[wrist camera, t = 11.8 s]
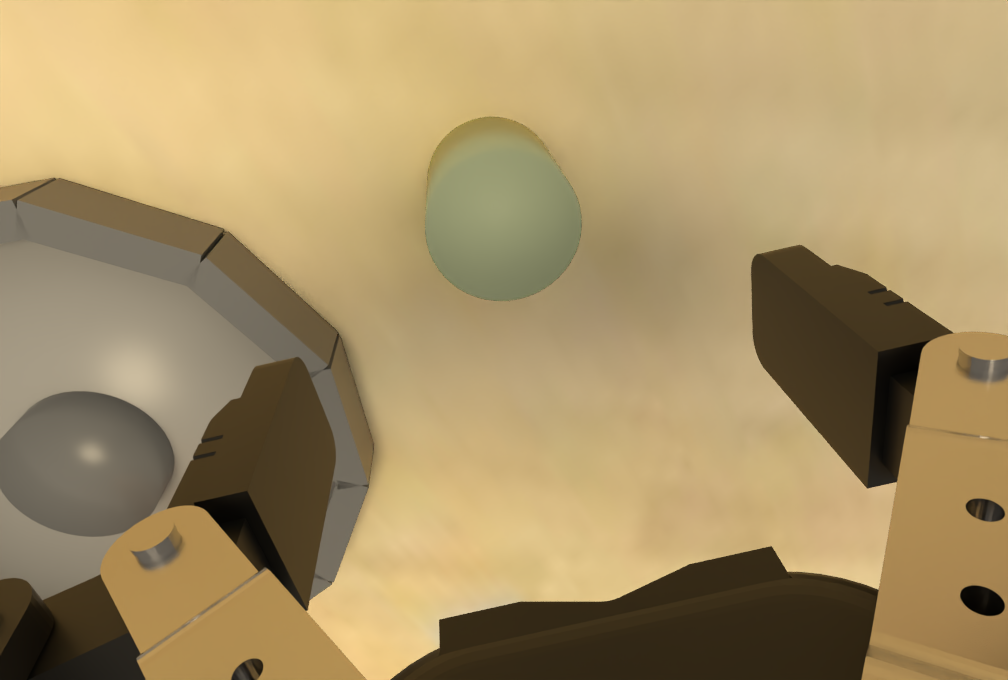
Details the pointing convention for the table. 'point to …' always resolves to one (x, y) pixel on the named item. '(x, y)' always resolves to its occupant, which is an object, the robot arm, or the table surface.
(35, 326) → the ring tray
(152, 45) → the table surface
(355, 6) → the table surface
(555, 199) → the pale green rounded cylinder
